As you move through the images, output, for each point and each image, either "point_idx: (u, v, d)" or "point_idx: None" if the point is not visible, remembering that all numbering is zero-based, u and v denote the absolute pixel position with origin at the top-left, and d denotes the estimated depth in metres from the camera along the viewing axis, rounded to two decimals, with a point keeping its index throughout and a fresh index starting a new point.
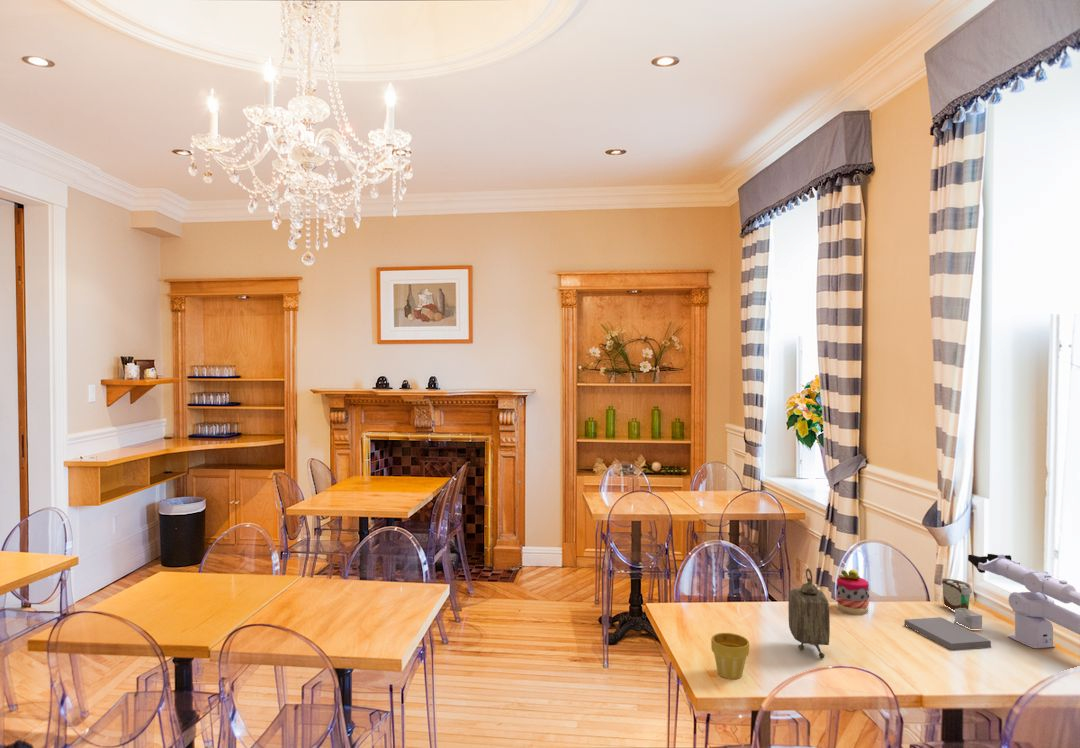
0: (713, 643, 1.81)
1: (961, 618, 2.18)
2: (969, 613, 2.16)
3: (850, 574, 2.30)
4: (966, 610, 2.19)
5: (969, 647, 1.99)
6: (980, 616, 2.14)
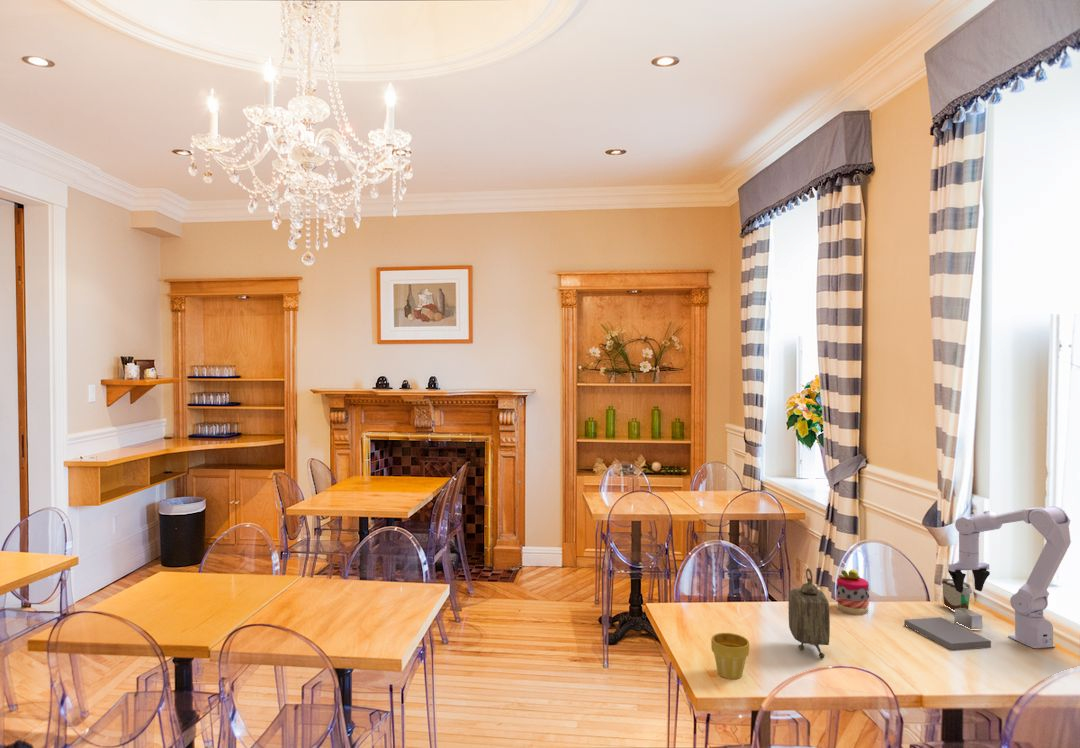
0: (713, 643, 1.81)
1: (961, 618, 2.18)
2: (969, 613, 2.16)
3: (850, 574, 2.30)
4: (966, 610, 2.19)
5: (969, 647, 1.99)
6: (980, 616, 2.14)
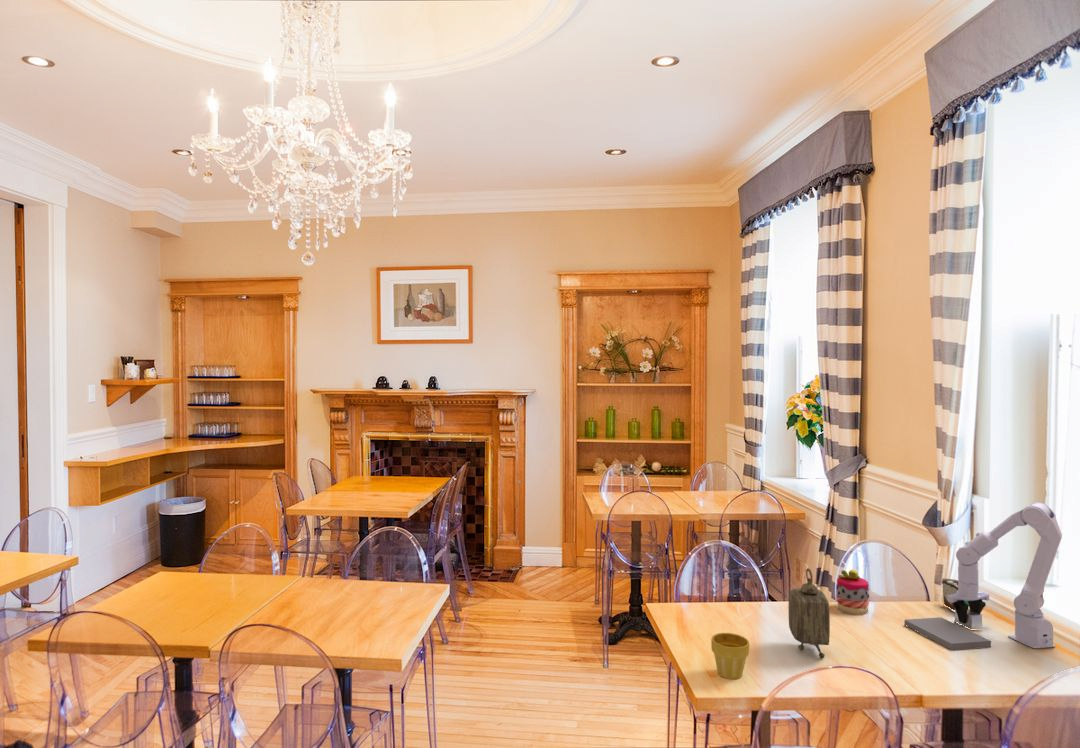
0: (713, 643, 1.81)
1: None
2: (969, 613, 2.16)
3: (850, 574, 2.30)
4: None
5: (969, 647, 1.99)
6: (980, 616, 2.14)
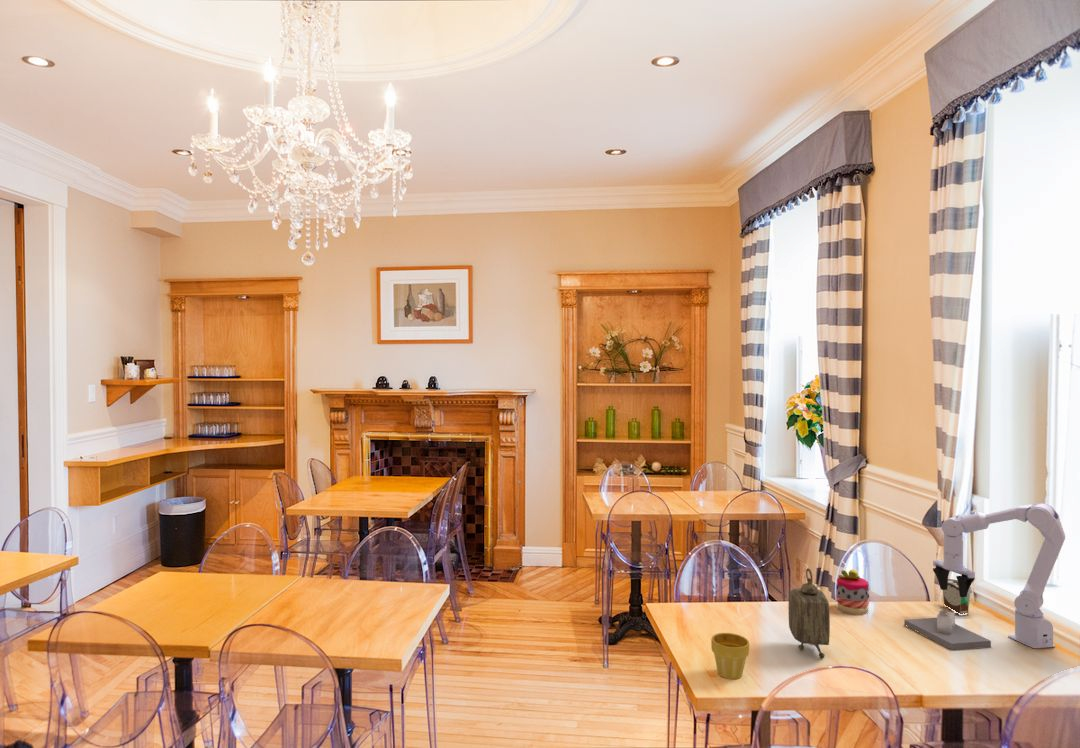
0: (713, 643, 1.81)
1: None
2: (942, 614, 2.09)
3: (850, 574, 2.30)
4: (948, 613, 2.10)
5: (969, 647, 1.99)
6: (949, 619, 2.06)
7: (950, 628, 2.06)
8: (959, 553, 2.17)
